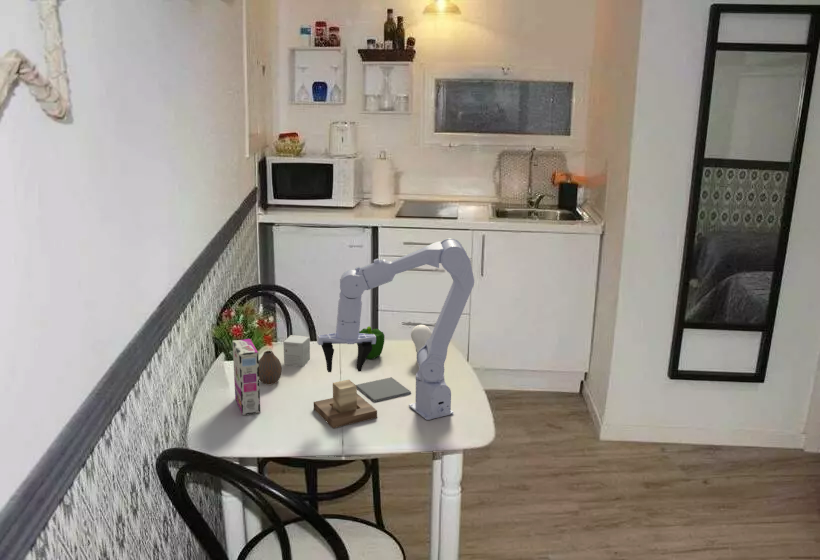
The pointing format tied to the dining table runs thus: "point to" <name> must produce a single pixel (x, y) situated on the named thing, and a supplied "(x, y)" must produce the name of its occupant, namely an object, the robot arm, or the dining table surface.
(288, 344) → the product box
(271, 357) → the vase
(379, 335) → the bell pepper
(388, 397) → the mat
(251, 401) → the candy bar box
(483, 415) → the dining table surface
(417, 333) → the lightbulb
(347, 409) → the peg
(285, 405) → the dining table surface
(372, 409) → the holder
